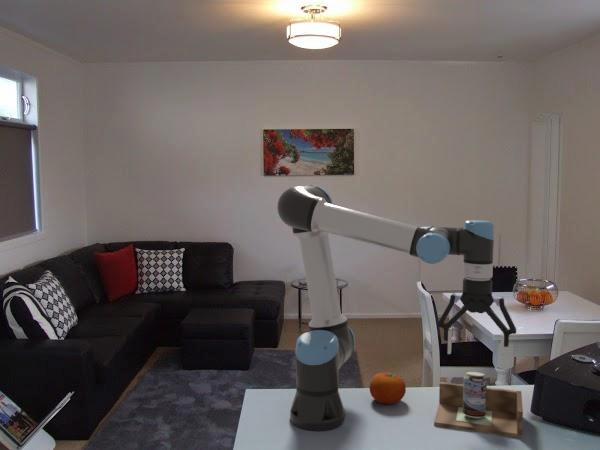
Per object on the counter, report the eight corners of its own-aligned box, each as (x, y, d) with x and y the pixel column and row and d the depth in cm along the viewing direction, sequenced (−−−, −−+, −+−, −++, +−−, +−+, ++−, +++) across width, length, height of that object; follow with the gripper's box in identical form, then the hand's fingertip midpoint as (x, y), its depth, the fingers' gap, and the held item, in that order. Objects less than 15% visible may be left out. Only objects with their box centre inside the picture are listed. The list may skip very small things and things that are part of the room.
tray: (434, 425, 150) (434, 400, 150) (439, 405, 163) (440, 381, 163) (522, 438, 143) (522, 411, 142) (520, 415, 156) (521, 391, 155)
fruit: (365, 405, 164) (365, 379, 163) (373, 392, 173) (373, 367, 172) (401, 410, 160) (402, 383, 159) (408, 397, 169) (408, 371, 169)
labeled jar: (463, 420, 150) (464, 377, 149) (461, 409, 157) (461, 368, 156) (487, 422, 149) (488, 379, 148) (484, 411, 156) (485, 369, 155)
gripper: (428, 277, 150) (426, 354, 152) (528, 283, 142) (525, 365, 144) (431, 272, 157) (430, 346, 159) (527, 278, 149) (524, 356, 151)
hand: (475, 355), depth 152 cm, fingers open, 13 cm apart
